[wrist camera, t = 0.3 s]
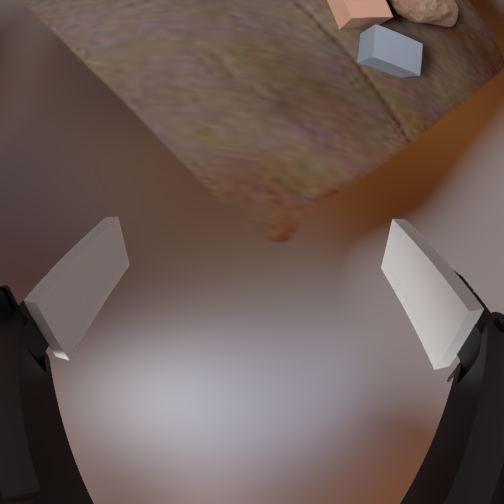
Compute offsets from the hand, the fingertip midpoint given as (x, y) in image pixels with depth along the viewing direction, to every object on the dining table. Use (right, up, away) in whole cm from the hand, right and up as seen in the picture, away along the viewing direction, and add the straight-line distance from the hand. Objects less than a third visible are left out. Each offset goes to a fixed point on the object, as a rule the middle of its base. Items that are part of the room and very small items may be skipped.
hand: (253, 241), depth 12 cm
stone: (+25, +38, +9) cm, 46 cm away
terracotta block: (+14, +33, +12) cm, 38 cm away
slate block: (+18, +27, +16) cm, 36 cm away
